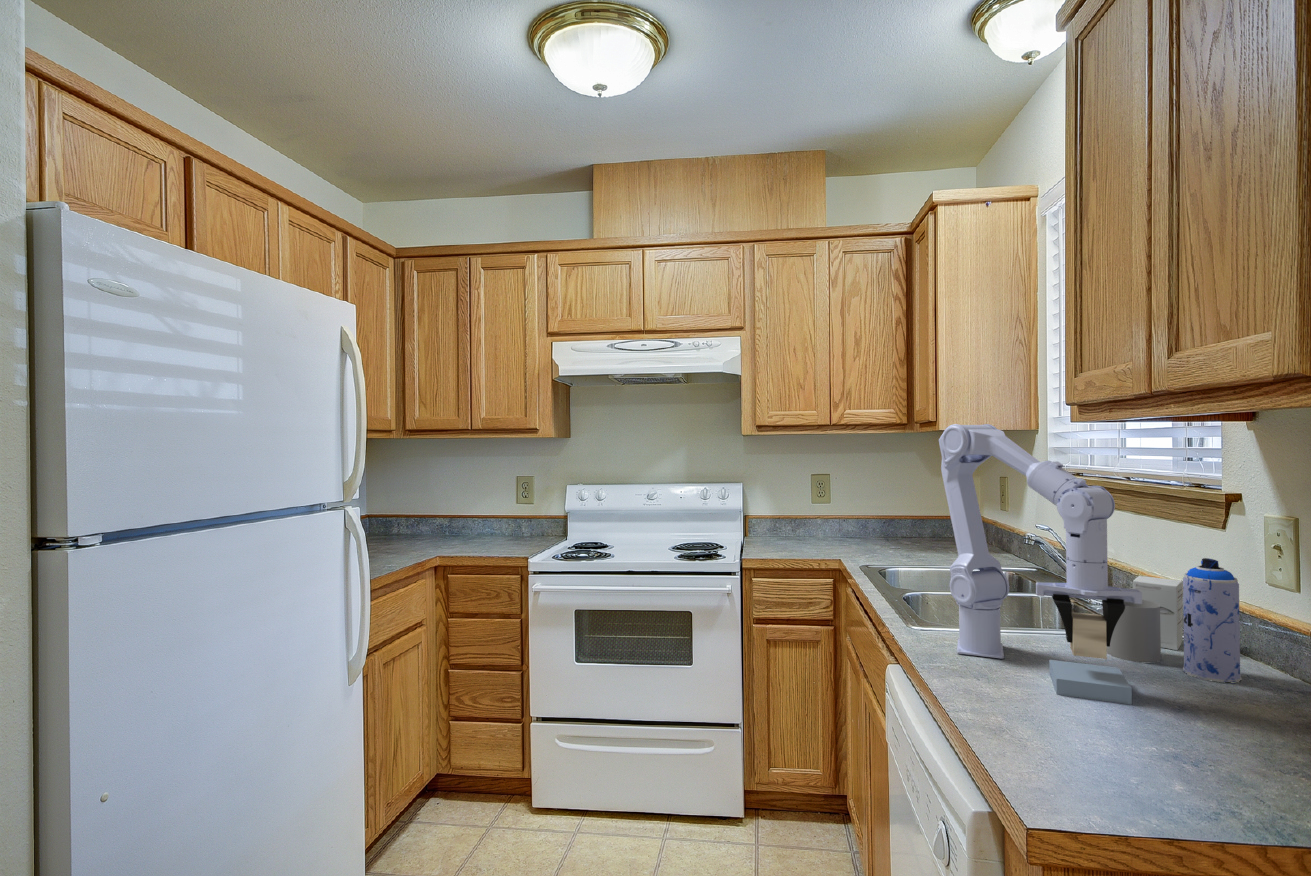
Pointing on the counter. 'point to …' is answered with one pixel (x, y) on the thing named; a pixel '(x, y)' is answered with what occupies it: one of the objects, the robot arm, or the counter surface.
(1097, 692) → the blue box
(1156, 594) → the supplement box
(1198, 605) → the aerosol can
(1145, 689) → the counter surface
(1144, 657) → the cup
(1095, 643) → the birch block
